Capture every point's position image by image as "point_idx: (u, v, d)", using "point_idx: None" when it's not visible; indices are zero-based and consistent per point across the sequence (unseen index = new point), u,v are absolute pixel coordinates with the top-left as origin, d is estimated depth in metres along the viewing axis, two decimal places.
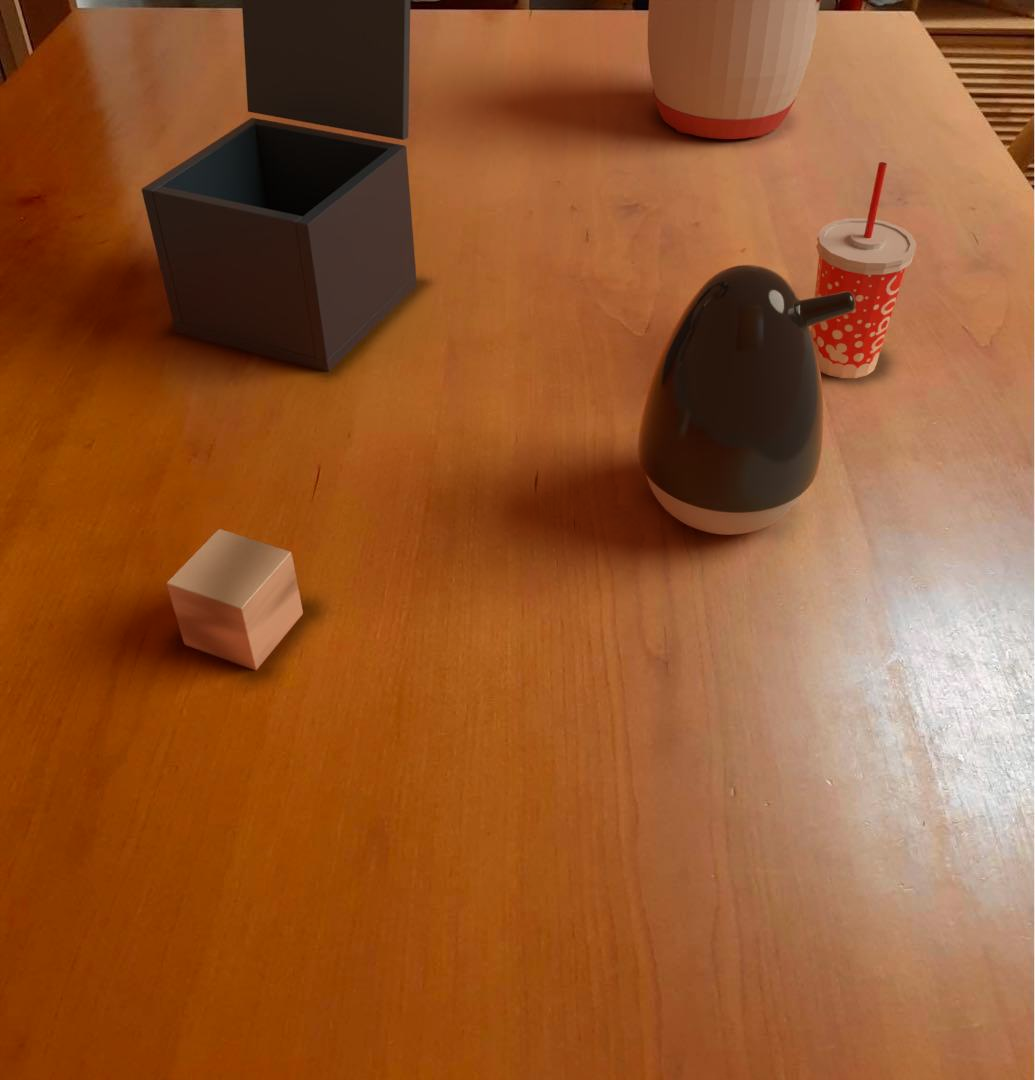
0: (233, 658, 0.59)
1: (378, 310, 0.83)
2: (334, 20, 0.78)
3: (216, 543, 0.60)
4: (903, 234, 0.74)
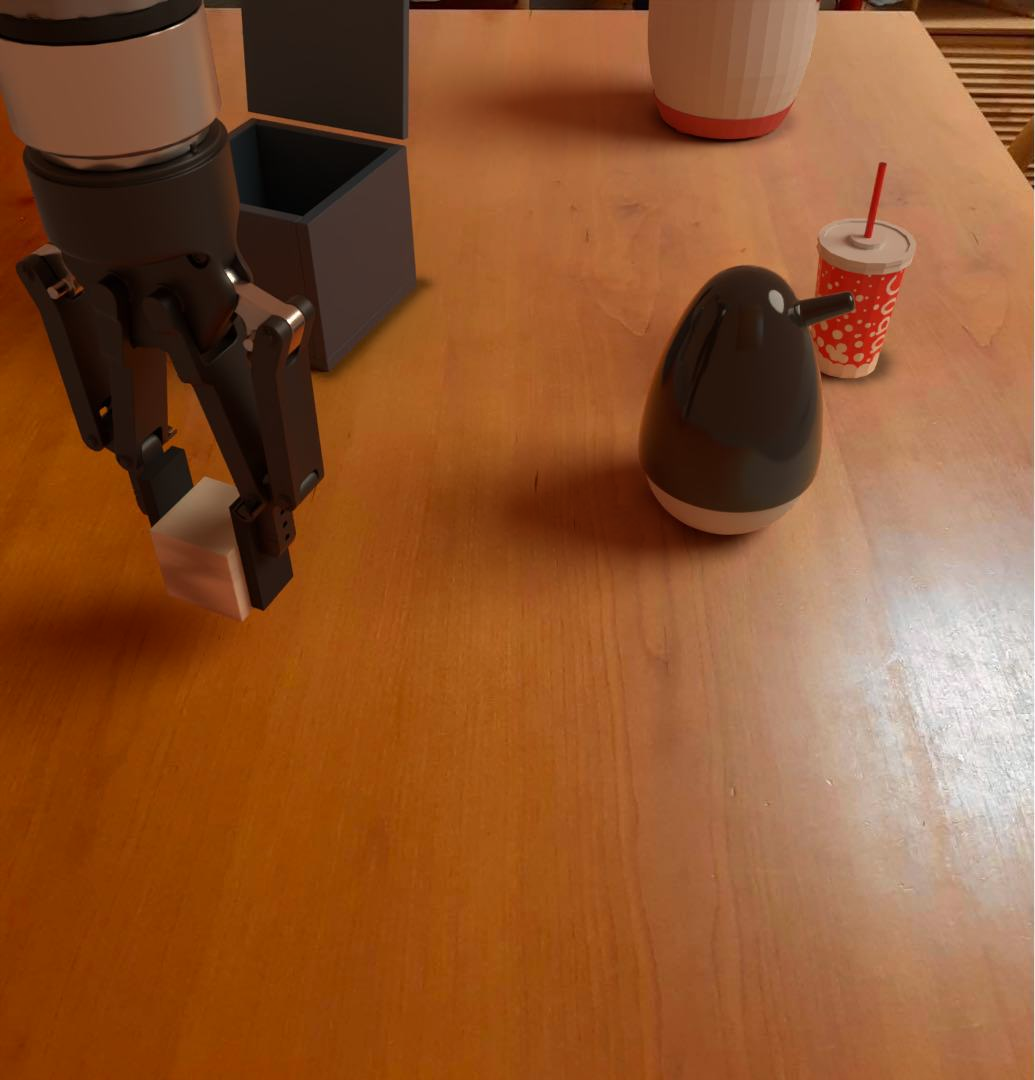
0: (218, 609, 0.57)
1: (378, 310, 0.83)
2: (333, 20, 0.78)
3: (201, 490, 0.58)
4: (903, 234, 0.74)
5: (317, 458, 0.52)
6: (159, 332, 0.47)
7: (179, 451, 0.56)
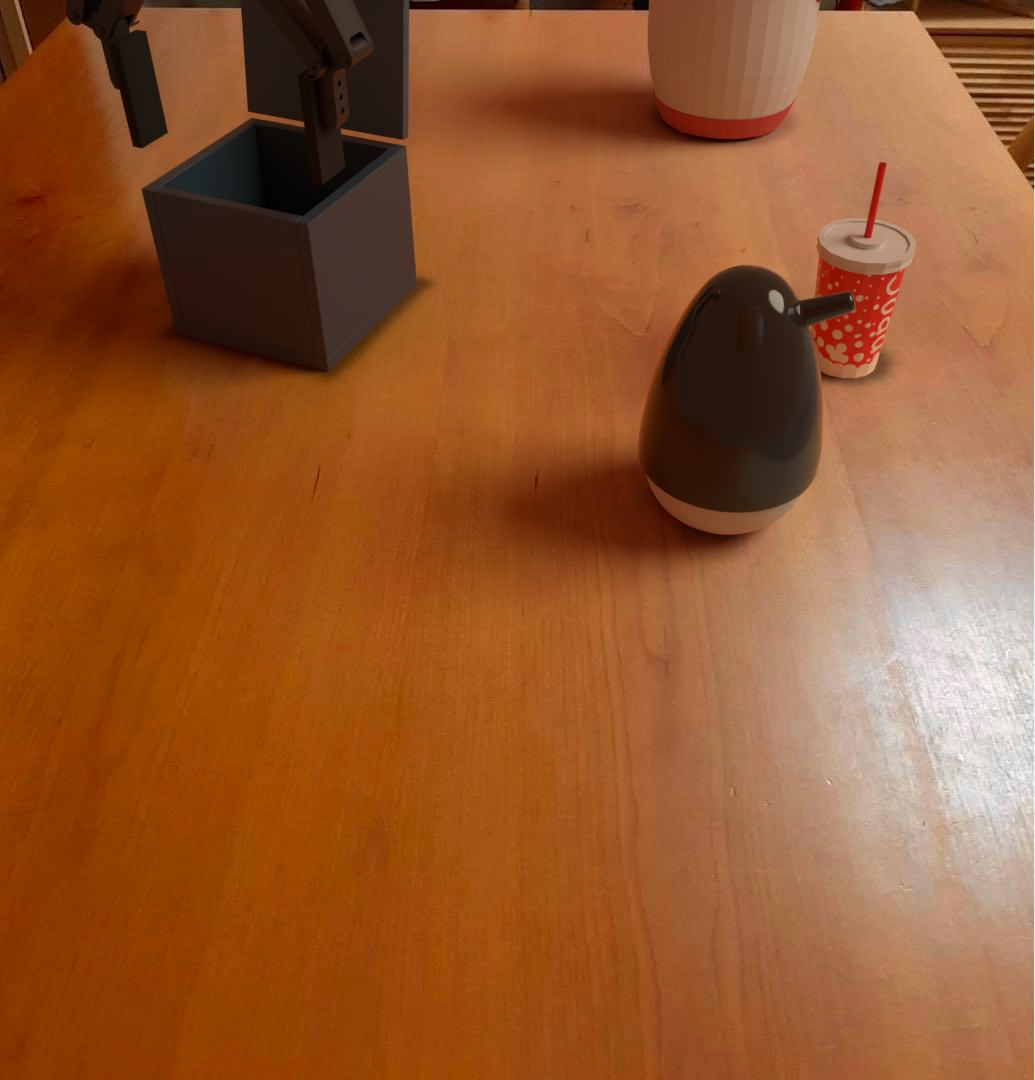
0: None
1: (378, 310, 0.83)
2: None
3: None
4: (903, 234, 0.74)
5: (359, 23, 0.66)
6: None
7: (141, 32, 0.73)
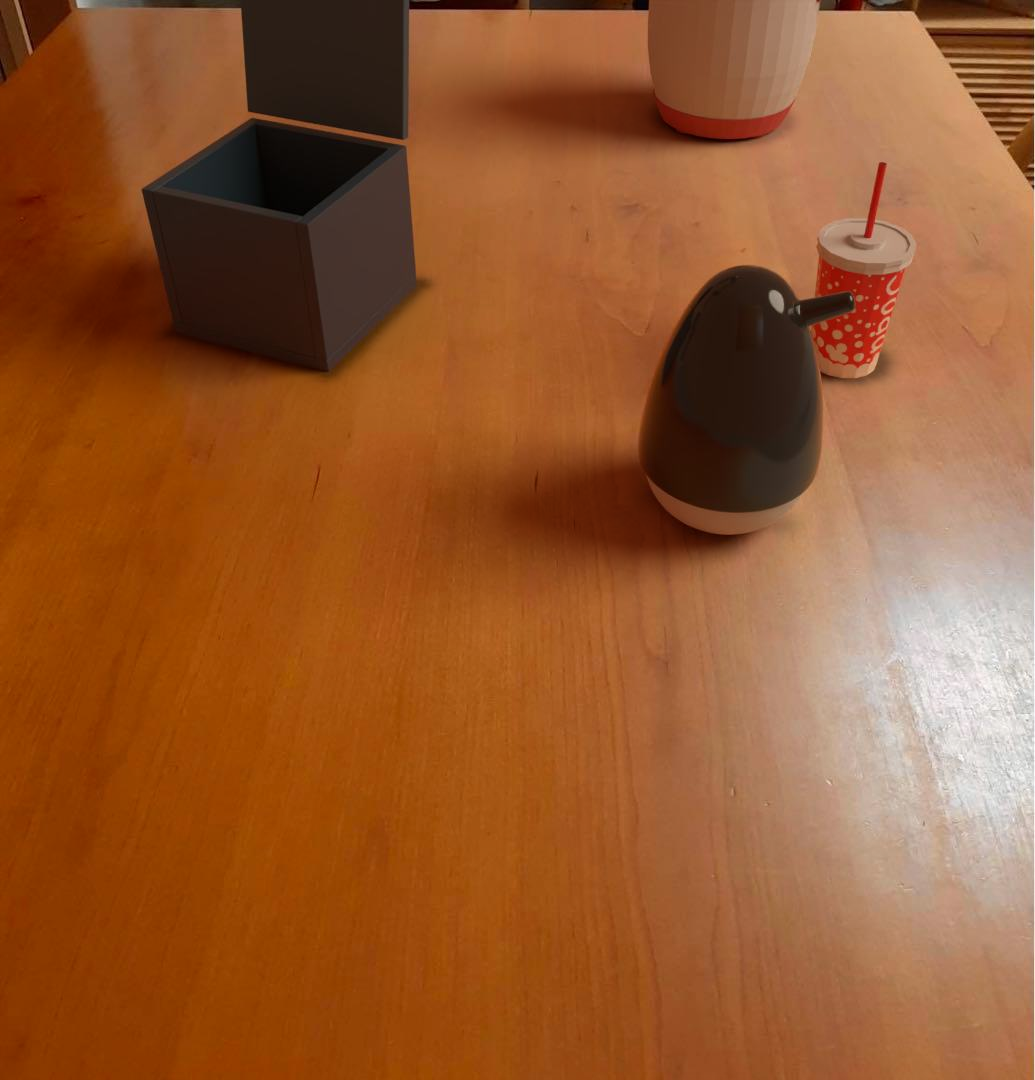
0: None
1: (378, 310, 0.83)
2: (333, 20, 0.78)
3: None
4: (903, 234, 0.74)
5: None
6: None
7: None
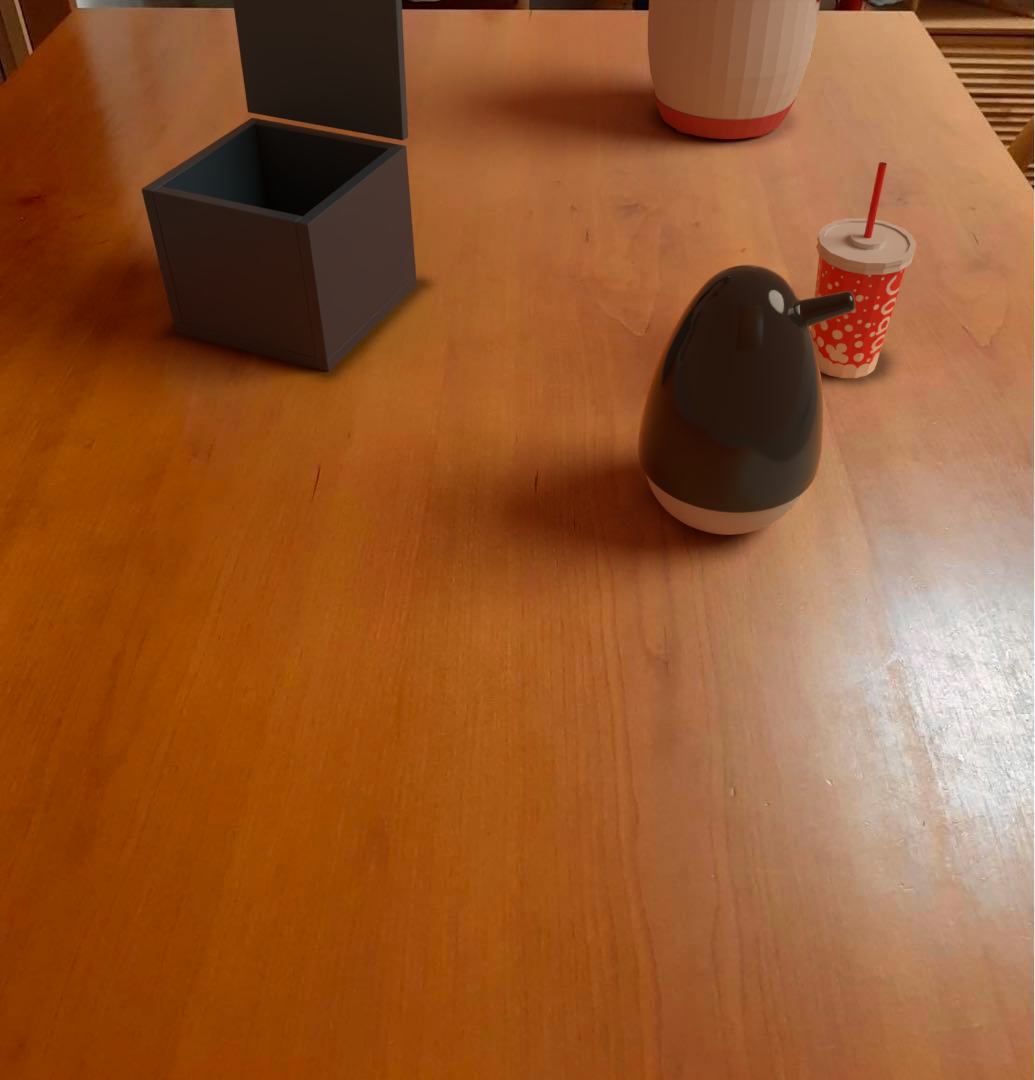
0: None
1: (378, 310, 0.83)
2: (327, 23, 0.77)
3: None
4: (903, 234, 0.74)
5: None
6: None
7: None
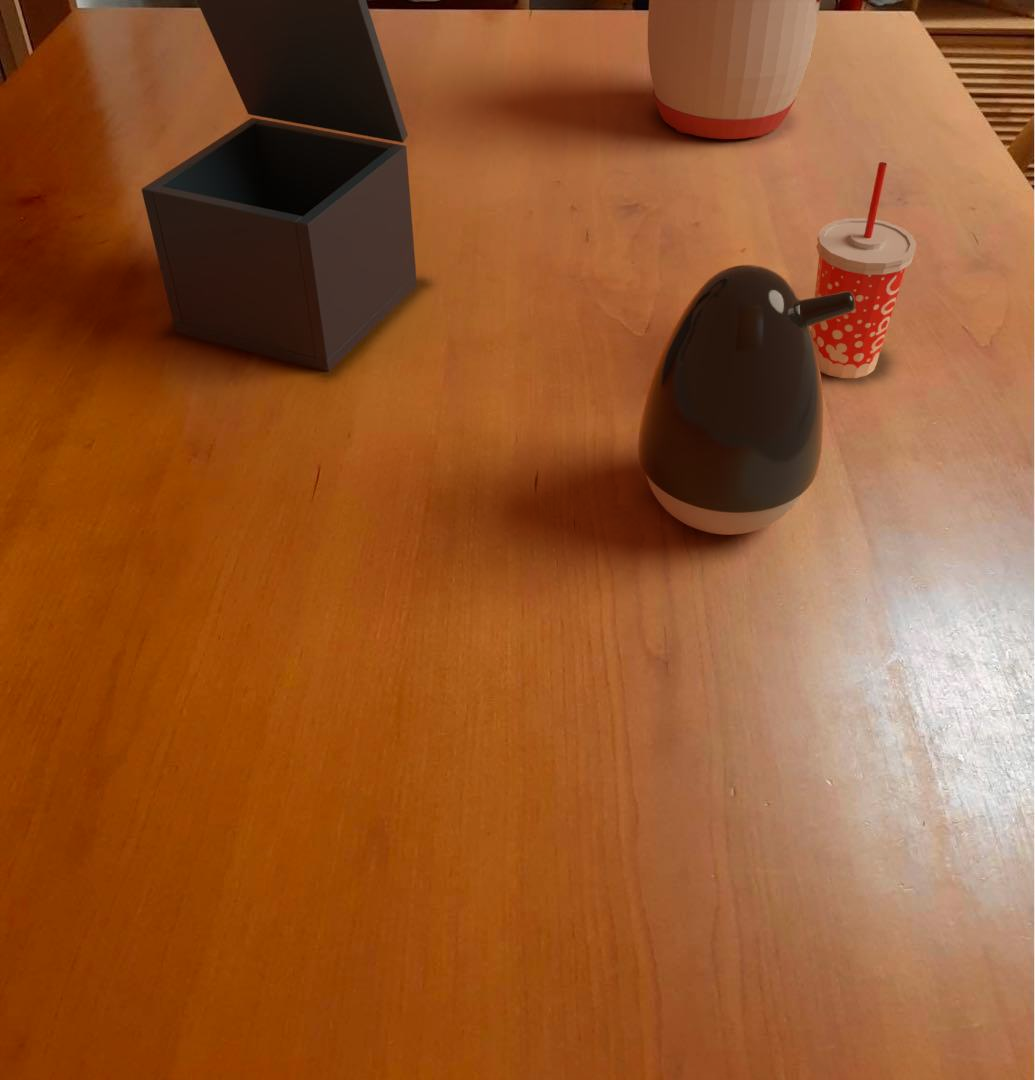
0: None
1: (378, 310, 0.83)
2: (305, 47, 0.76)
3: None
4: (903, 234, 0.74)
5: None
6: None
7: None
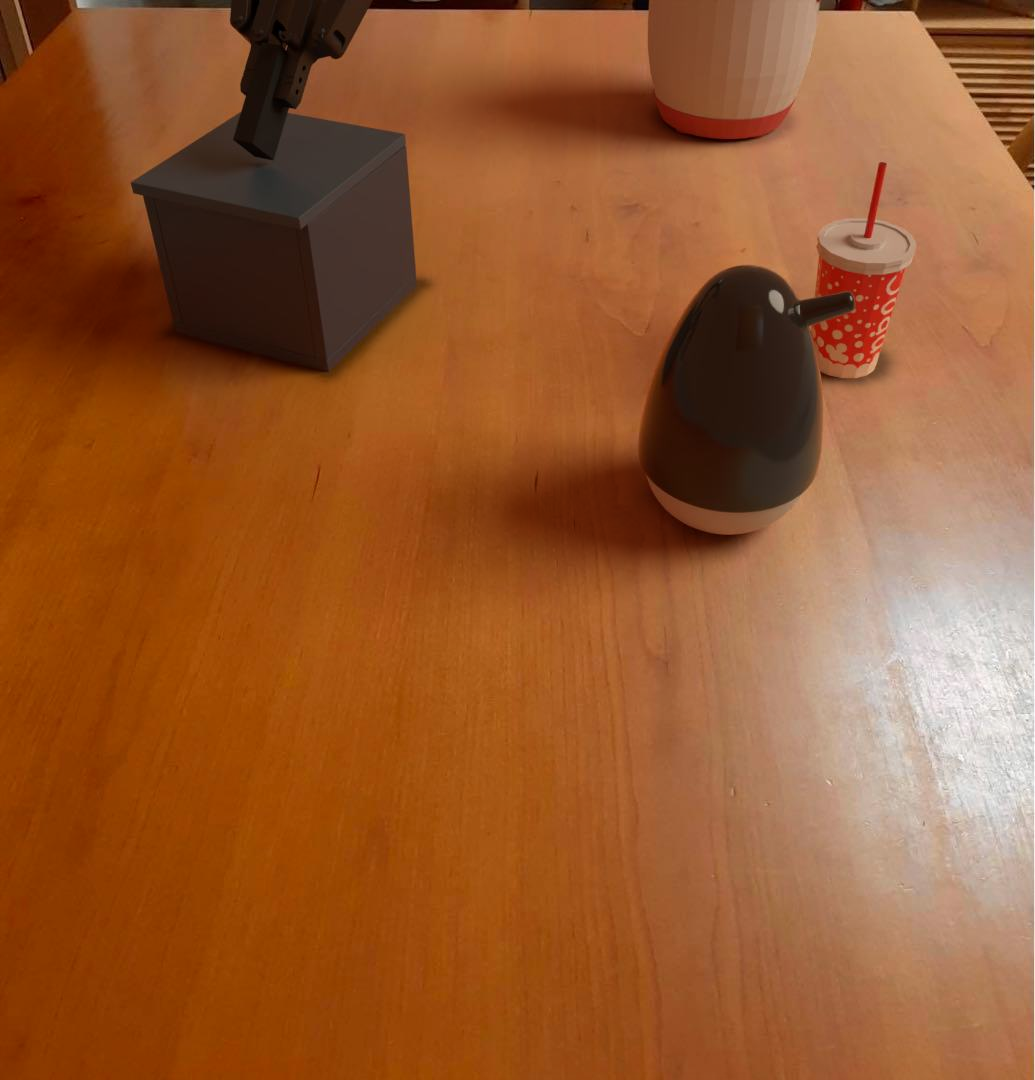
0: None
1: (378, 310, 0.83)
2: None
3: None
4: (903, 234, 0.74)
5: (350, 35, 0.75)
6: None
7: None
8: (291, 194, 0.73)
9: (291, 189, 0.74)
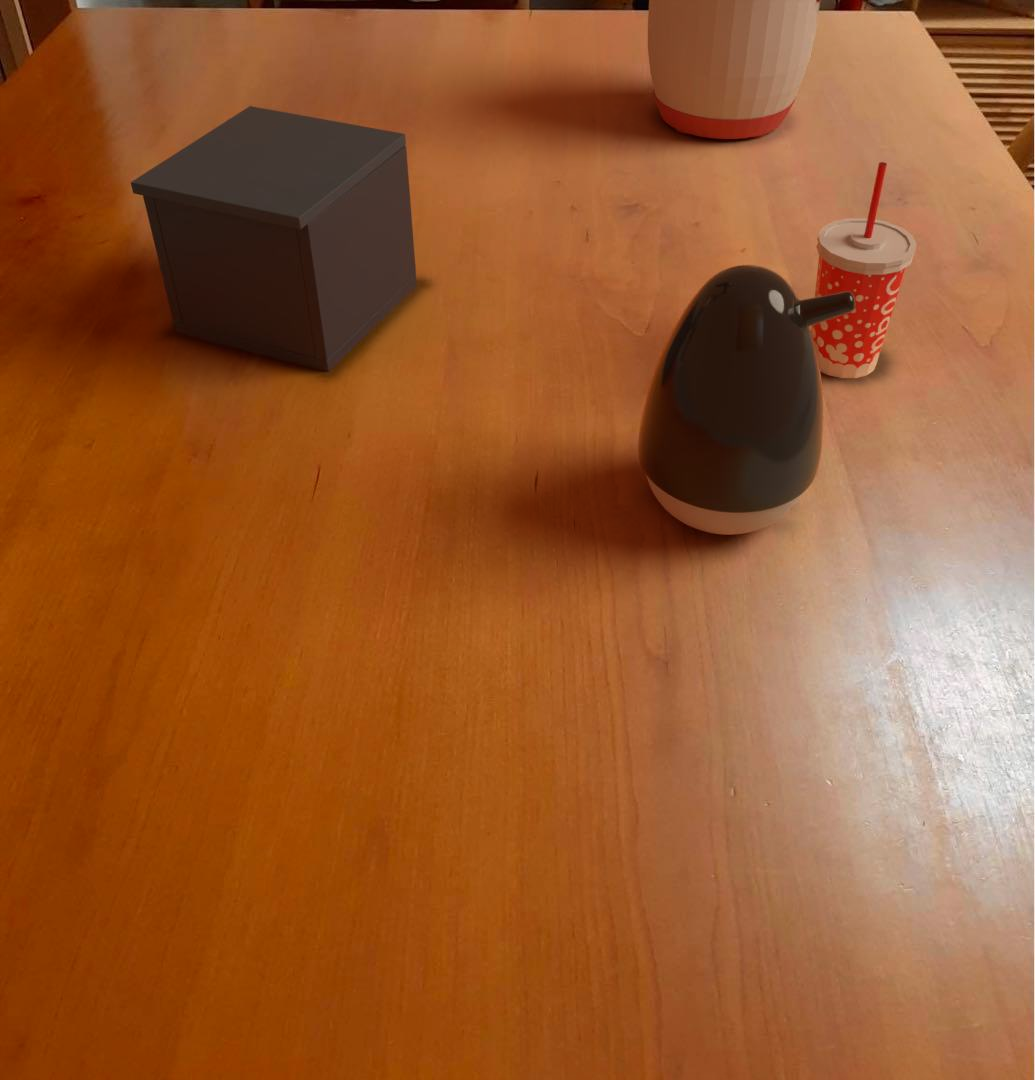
0: None
1: (378, 310, 0.83)
2: None
3: None
4: (903, 234, 0.74)
5: None
6: None
7: None
8: (291, 194, 0.73)
9: (291, 189, 0.74)
